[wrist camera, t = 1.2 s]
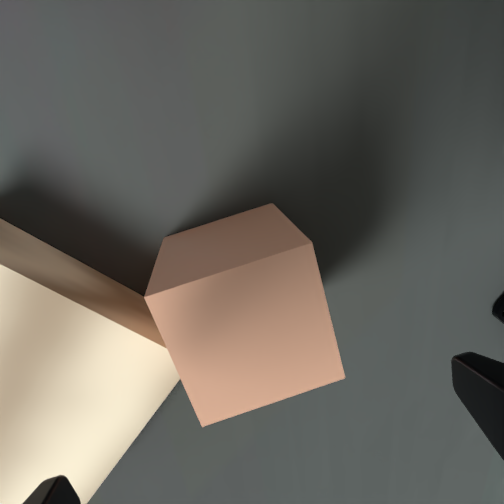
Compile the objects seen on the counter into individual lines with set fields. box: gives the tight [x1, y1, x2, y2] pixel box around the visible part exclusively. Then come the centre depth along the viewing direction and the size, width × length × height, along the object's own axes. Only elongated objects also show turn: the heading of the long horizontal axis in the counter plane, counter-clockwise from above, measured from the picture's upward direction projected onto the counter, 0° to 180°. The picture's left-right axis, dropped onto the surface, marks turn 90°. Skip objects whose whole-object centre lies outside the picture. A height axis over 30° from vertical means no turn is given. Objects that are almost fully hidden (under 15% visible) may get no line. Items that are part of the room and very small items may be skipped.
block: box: [144, 203, 345, 427], centre depth 14 cm, size 5×5×6 cm
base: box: [0, 218, 180, 504], centre depth 15 cm, size 10×10×3 cm
